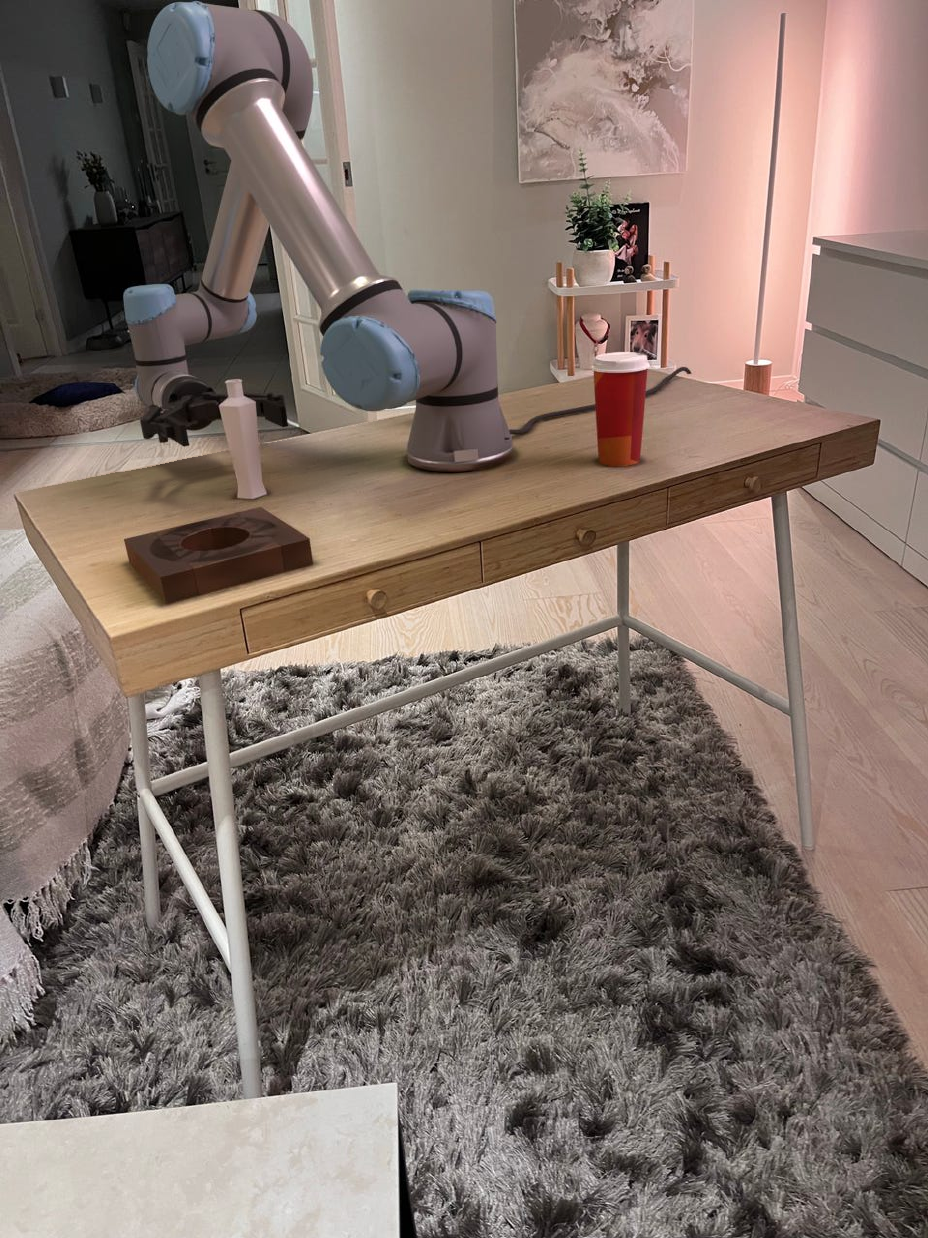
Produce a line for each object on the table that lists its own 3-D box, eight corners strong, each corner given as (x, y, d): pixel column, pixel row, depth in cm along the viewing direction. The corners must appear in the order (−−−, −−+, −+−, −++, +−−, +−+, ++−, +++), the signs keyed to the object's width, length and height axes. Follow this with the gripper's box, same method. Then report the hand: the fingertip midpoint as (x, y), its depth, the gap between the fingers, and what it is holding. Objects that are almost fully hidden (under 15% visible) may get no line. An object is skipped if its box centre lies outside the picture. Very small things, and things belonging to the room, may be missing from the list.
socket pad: (264, 530, 112) (260, 506, 110) (313, 564, 101) (309, 538, 99) (129, 564, 104) (123, 538, 103) (166, 604, 93) (160, 576, 92)
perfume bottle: (254, 487, 128) (236, 375, 121) (275, 492, 125) (257, 378, 119) (226, 496, 125) (207, 382, 118) (247, 501, 122) (228, 385, 116)
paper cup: (628, 449, 133) (630, 348, 127) (658, 462, 127) (661, 356, 121) (580, 458, 131) (579, 355, 125) (608, 472, 124) (609, 364, 118)
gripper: (268, 411, 146) (326, 436, 130) (105, 442, 135) (146, 473, 118) (261, 362, 143) (319, 381, 127) (93, 389, 131) (133, 414, 115)
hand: (235, 425), depth 122 cm, fingers open, 13 cm apart
